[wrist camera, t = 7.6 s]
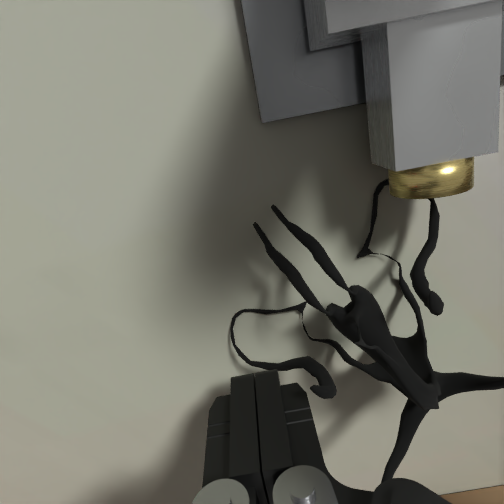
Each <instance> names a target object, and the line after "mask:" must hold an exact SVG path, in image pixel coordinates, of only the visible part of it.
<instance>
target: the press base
mask: <svg viewBox="0 0 504 504" xmlns="http://www.w3.org/2000/svg"><path fill="white" fill-rule="evenodd" d="M241 5H242V10H243V16H244V22H245V28H246V34H247V40H248V46H249V52H250V57H251V63H252V69H253V75H254V81H255V87H256V93H257V99H258V104H259V110H260V116H261V122H262V123H265V122H270V121H275V120H280V119H285V118H290V117H295V116H300V115H305V114H310V113H315V112H320V111H325V110H330V109H335V108H340V107H345V106H350V105H355V104H360V103H365V102H366V92H365V79H364V67H363V55H362V42H361V41H358V42H353V43H348V44H343V45H338V46H333V47H328V48H323V49H318V50H313V51H310V48H309V39H308V31H307V23H306V15H305V7H304V0H241ZM501 75H504V12H502V31H501V66H500V76H501Z"/></svg>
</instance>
